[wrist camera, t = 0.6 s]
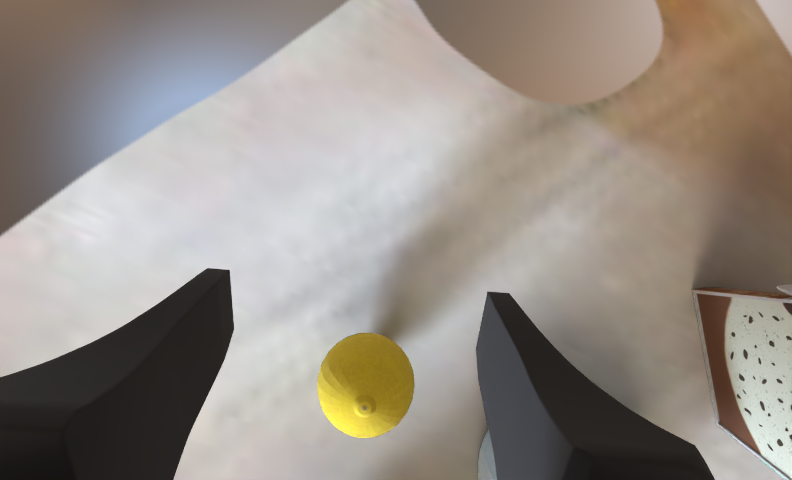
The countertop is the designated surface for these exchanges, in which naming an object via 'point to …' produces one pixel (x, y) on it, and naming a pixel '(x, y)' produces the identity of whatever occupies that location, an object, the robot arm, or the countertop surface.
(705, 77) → the countertop surface
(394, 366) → the lemon
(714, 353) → the food container
